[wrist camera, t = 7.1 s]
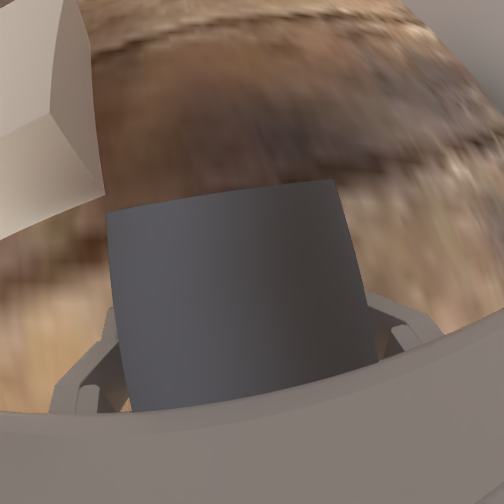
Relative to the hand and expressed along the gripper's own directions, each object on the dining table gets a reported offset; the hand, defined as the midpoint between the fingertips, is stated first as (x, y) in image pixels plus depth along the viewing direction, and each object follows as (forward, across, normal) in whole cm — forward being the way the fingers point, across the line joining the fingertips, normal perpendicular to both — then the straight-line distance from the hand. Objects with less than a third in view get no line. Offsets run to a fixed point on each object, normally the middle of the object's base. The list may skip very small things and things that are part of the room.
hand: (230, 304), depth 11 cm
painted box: (+14, +15, -6) cm, 22 cm away
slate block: (+3, 0, +4) cm, 5 cm away
